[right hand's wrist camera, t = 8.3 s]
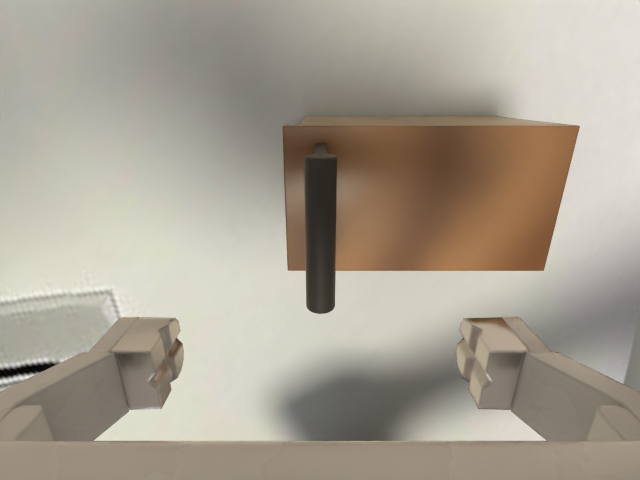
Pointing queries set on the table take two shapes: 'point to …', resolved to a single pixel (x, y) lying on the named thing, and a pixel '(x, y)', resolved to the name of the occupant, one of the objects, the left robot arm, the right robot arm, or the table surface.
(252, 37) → the table surface
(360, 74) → the table surface
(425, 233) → the lid
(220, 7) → the table surface
